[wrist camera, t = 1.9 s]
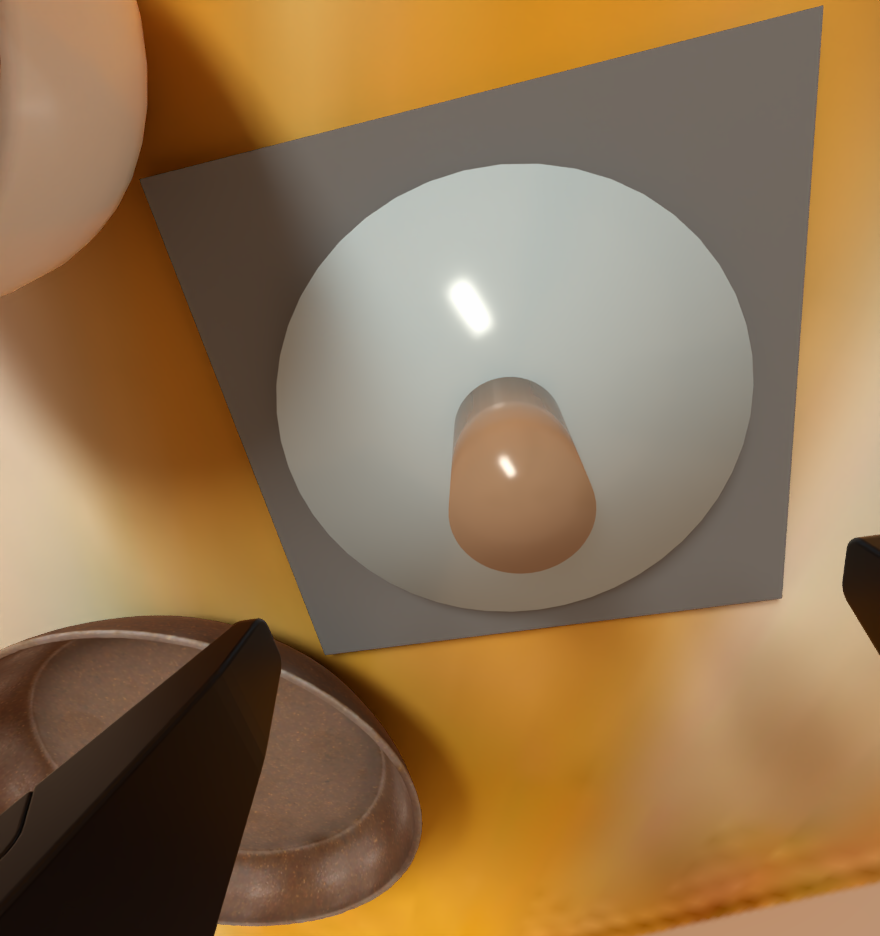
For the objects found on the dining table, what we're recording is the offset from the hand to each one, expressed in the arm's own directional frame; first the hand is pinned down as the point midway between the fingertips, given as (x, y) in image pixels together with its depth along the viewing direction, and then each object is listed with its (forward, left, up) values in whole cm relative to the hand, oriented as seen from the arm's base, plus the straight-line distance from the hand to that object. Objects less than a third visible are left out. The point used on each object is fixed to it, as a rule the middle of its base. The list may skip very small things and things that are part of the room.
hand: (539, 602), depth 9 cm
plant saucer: (+14, +12, -9) cm, 21 cm away
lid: (0, 0, -8) cm, 8 cm away
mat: (0, 0, -9) cm, 9 cm away
